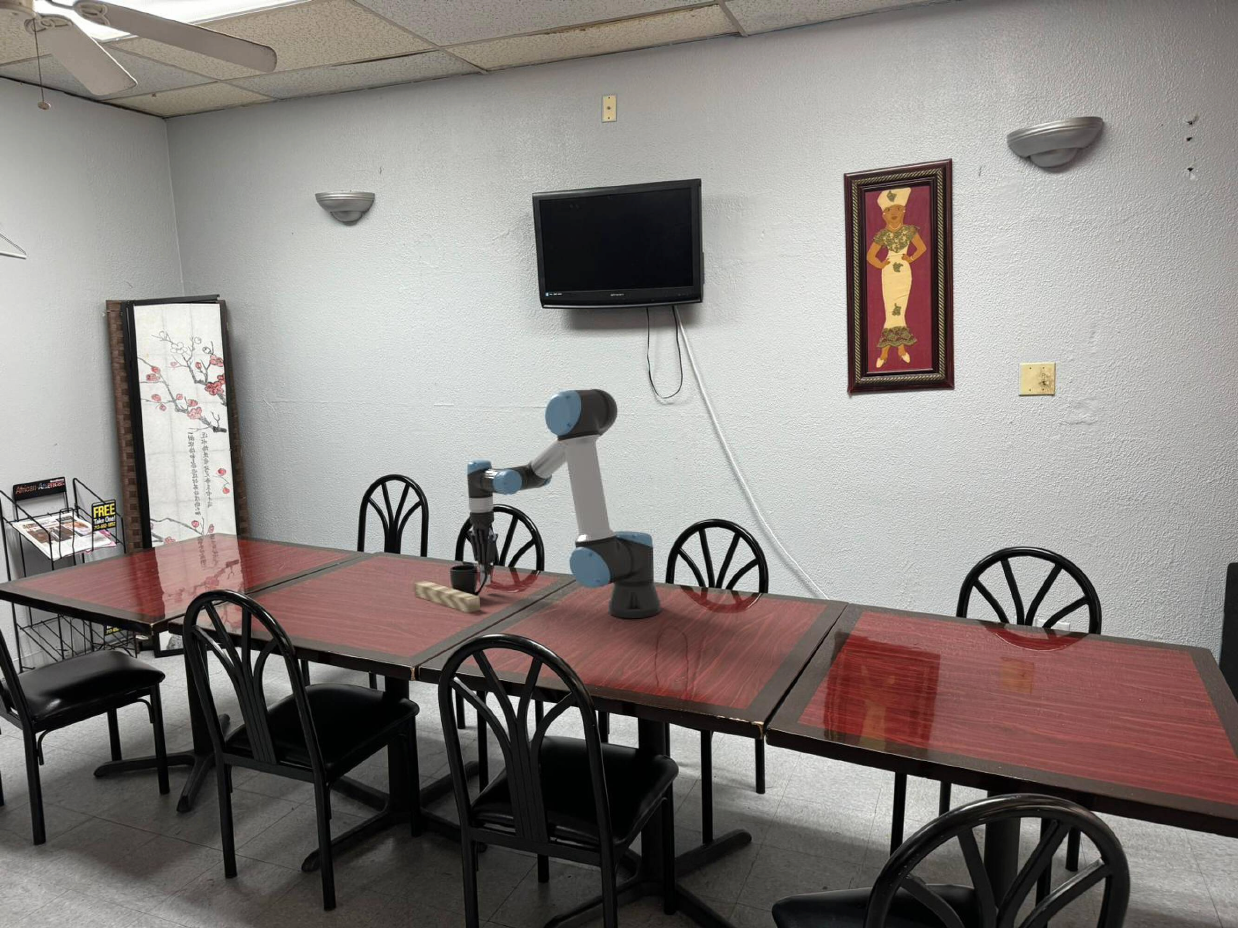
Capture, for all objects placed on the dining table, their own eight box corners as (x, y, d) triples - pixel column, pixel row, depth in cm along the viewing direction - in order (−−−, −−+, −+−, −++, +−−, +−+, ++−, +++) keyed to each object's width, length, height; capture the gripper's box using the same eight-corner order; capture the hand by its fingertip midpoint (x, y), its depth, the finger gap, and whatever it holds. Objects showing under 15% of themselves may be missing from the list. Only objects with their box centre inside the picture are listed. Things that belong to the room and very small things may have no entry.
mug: (482, 602, 266) (480, 571, 265) (446, 600, 270) (444, 570, 269) (494, 595, 274) (492, 565, 273) (459, 593, 278) (457, 564, 277)
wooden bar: (480, 609, 259) (479, 596, 258) (468, 612, 256) (467, 599, 255) (425, 592, 280) (425, 580, 280) (414, 595, 278) (413, 583, 277)
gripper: (504, 510, 273) (507, 585, 275) (479, 506, 282) (483, 578, 285) (484, 514, 268) (488, 590, 270) (459, 510, 277) (463, 583, 280)
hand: (485, 584), depth 278 cm, fingers closed
